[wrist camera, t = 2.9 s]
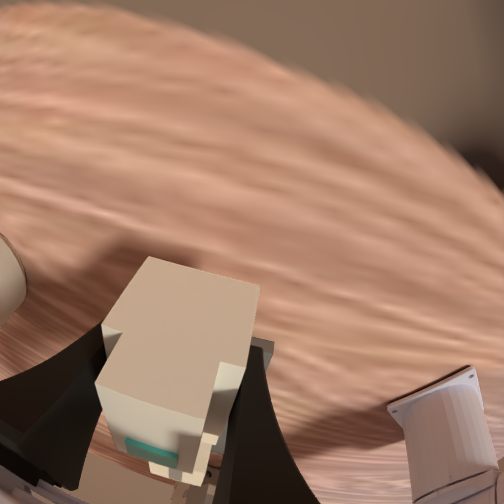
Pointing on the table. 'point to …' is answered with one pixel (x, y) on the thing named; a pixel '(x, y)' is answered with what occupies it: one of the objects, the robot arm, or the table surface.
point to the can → (10, 280)
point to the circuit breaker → (197, 489)
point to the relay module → (174, 360)
